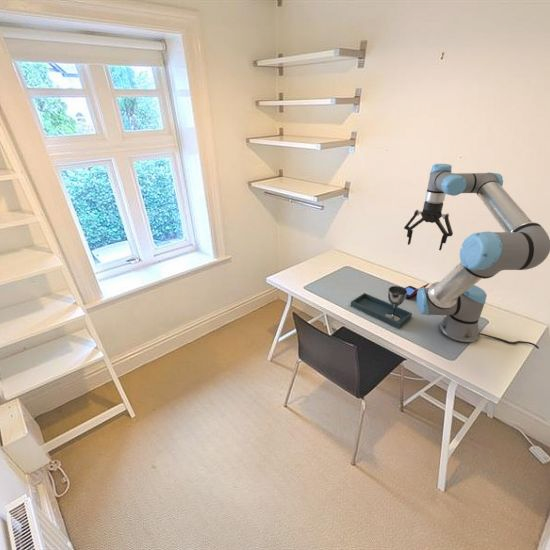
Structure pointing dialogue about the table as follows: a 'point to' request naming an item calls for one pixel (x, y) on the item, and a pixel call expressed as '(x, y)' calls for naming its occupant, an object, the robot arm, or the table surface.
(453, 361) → the table surface
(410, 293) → the handheld game console
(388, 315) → the wine glass
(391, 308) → the tray
